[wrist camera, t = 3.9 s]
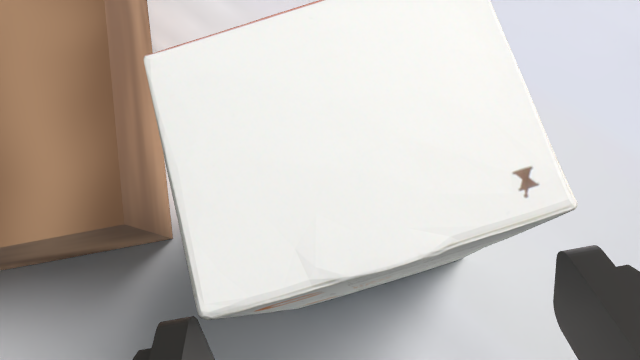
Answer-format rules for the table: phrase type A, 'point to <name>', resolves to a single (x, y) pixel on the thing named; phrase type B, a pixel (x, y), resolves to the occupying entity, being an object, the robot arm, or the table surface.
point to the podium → (77, 131)
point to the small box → (347, 149)
